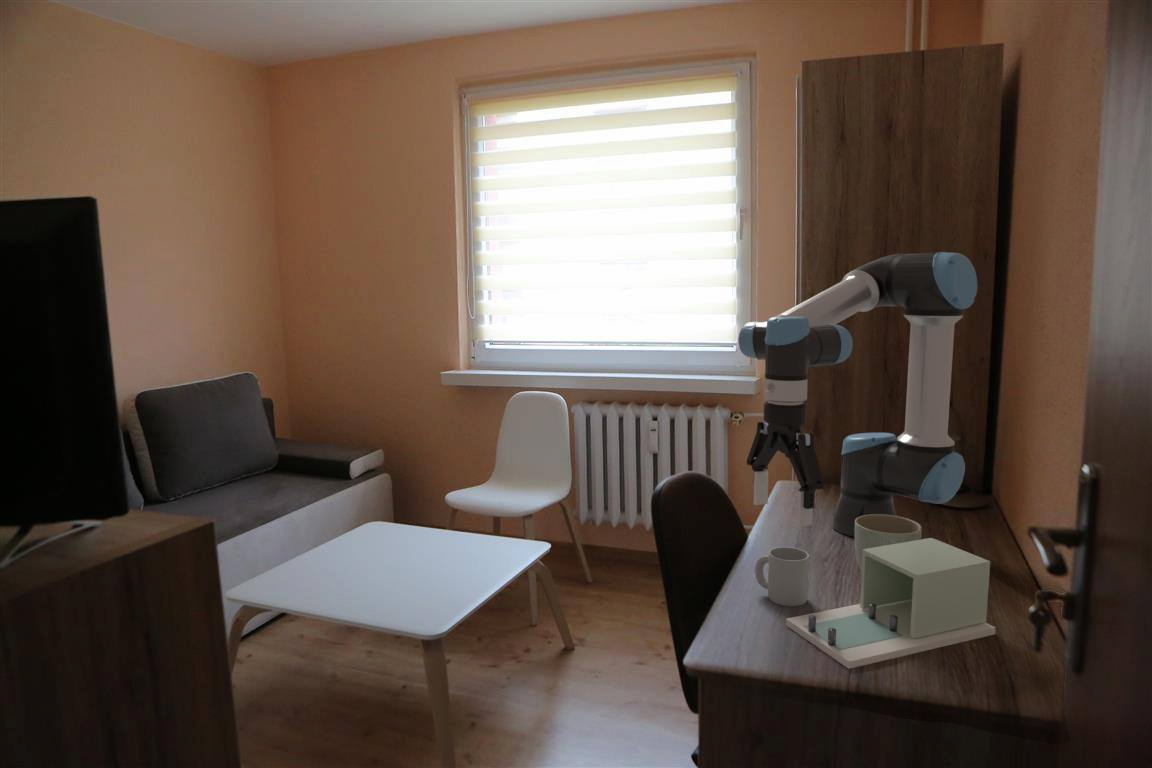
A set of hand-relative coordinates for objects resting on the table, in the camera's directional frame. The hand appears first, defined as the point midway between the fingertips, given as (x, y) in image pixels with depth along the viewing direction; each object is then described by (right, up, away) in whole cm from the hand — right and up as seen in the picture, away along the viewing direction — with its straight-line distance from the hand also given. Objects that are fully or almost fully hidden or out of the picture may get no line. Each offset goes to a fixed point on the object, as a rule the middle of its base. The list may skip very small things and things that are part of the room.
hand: (781, 514), depth 141 cm
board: (+15, -18, -11) cm, 26 cm away
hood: (+22, -16, -9) cm, 29 cm away
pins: (+8, -17, -14) cm, 24 cm away
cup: (0, -16, +2) cm, 17 cm away
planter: (+24, -15, +12) cm, 31 cm away
